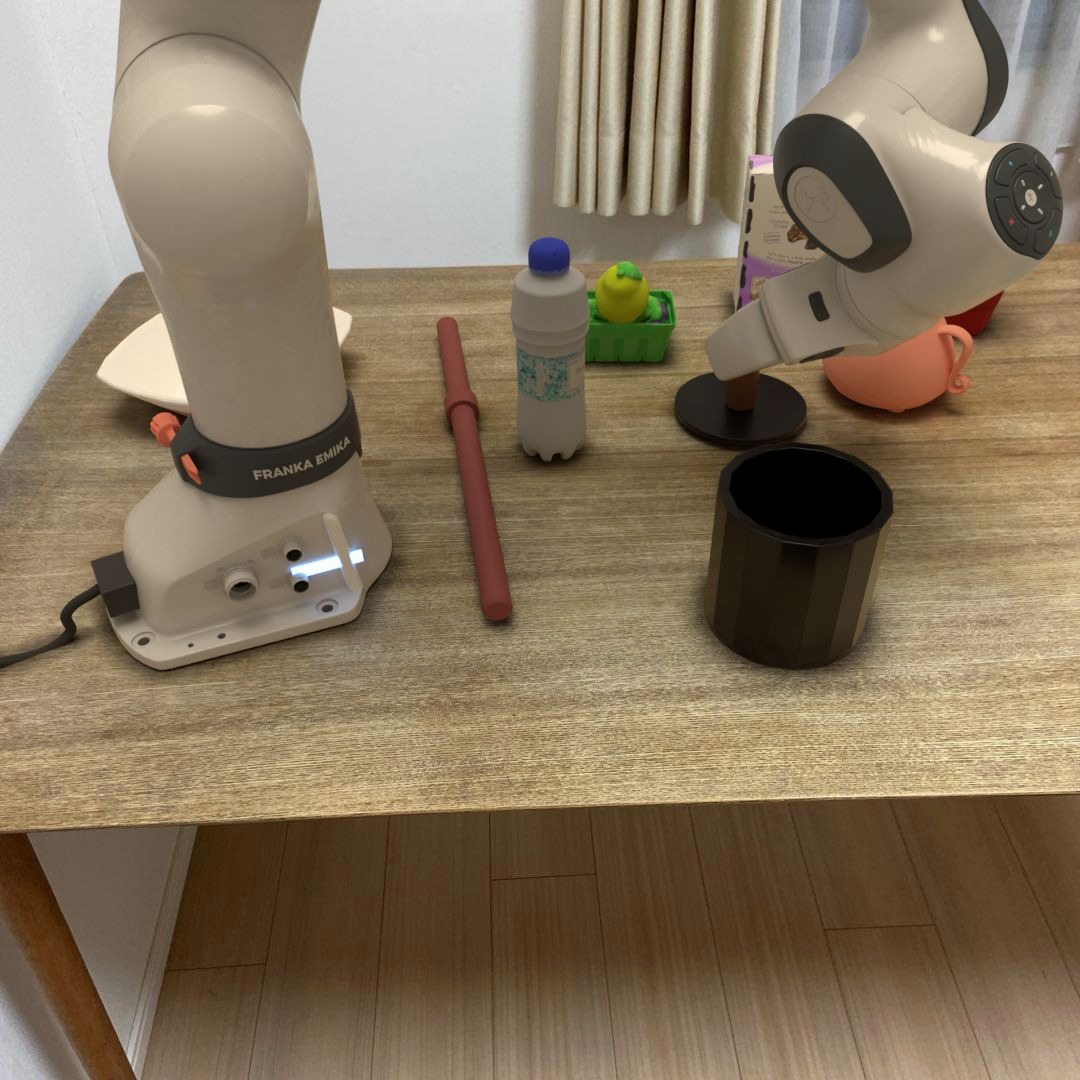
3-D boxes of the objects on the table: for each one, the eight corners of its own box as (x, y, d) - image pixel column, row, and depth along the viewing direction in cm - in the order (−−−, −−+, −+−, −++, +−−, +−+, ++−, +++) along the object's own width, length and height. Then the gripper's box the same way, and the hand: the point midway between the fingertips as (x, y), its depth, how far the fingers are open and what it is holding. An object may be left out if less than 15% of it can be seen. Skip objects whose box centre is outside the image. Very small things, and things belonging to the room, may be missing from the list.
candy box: (855, 299, 115) (883, 152, 105) (862, 324, 111) (892, 173, 100) (731, 296, 116) (747, 150, 106) (734, 321, 112) (750, 171, 101)
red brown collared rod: (433, 339, 110) (430, 313, 108) (462, 336, 110) (460, 310, 108) (478, 628, 76) (475, 597, 74) (519, 623, 76) (518, 592, 74)
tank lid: (730, 466, 91) (740, 376, 85) (648, 404, 99) (652, 318, 93) (832, 424, 96) (849, 336, 90) (746, 368, 104) (756, 284, 98)
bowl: (82, 428, 98) (64, 381, 95) (207, 325, 114) (196, 281, 110) (280, 467, 92) (268, 418, 89) (383, 353, 108) (377, 308, 105)
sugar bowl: (852, 345, 107) (871, 253, 101) (984, 388, 100) (1013, 292, 94) (796, 394, 100) (812, 298, 93) (933, 444, 93) (961, 344, 86)
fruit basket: (668, 332, 110) (675, 232, 103) (675, 374, 103) (683, 270, 96) (563, 333, 111) (563, 233, 103) (563, 375, 104) (562, 271, 97)
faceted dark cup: (775, 693, 70) (799, 568, 63) (673, 596, 78) (684, 475, 71) (896, 629, 75) (931, 505, 68) (788, 544, 83) (809, 425, 75)
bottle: (581, 472, 91) (583, 260, 78) (508, 464, 92) (498, 254, 79) (593, 430, 96) (597, 225, 83) (524, 424, 97) (517, 220, 84)
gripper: (959, 227, 81) (855, 292, 94) (748, 285, 74) (666, 347, 87) (988, 301, 80) (879, 356, 93) (778, 366, 73) (692, 416, 86)
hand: (775, 352), depth 90 cm, fingers open, 8 cm apart
